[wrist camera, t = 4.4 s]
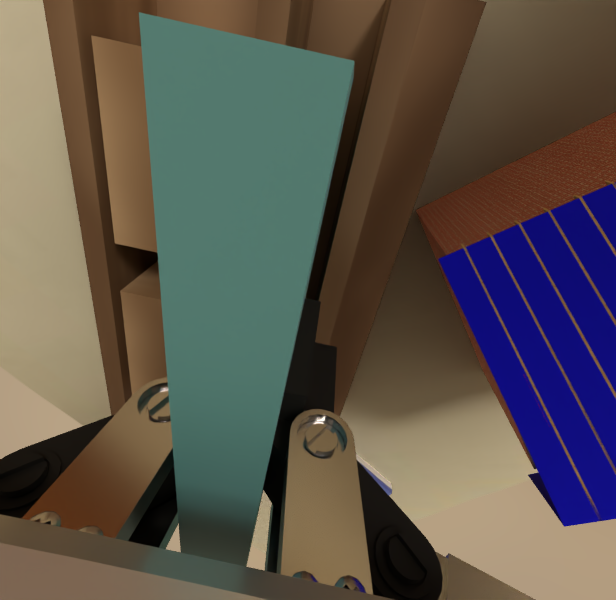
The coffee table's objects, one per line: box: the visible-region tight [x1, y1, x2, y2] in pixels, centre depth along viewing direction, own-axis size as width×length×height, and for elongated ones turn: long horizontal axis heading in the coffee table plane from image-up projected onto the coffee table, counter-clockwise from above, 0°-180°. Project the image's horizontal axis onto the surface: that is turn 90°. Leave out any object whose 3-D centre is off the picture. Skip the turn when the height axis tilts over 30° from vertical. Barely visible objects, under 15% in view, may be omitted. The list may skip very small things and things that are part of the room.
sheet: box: [139, 12, 354, 567], centre depth 10 cm, size 1×14×11 cm, turn 169°
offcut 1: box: [91, 35, 158, 253], centre depth 12 cm, size 4×6×4 cm, turn 169°
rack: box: [43, 0, 486, 417], centre depth 15 cm, size 15×21×6 cm
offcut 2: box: [120, 261, 167, 395], centre depth 16 cm, size 4×6×4 cm, turn 169°
